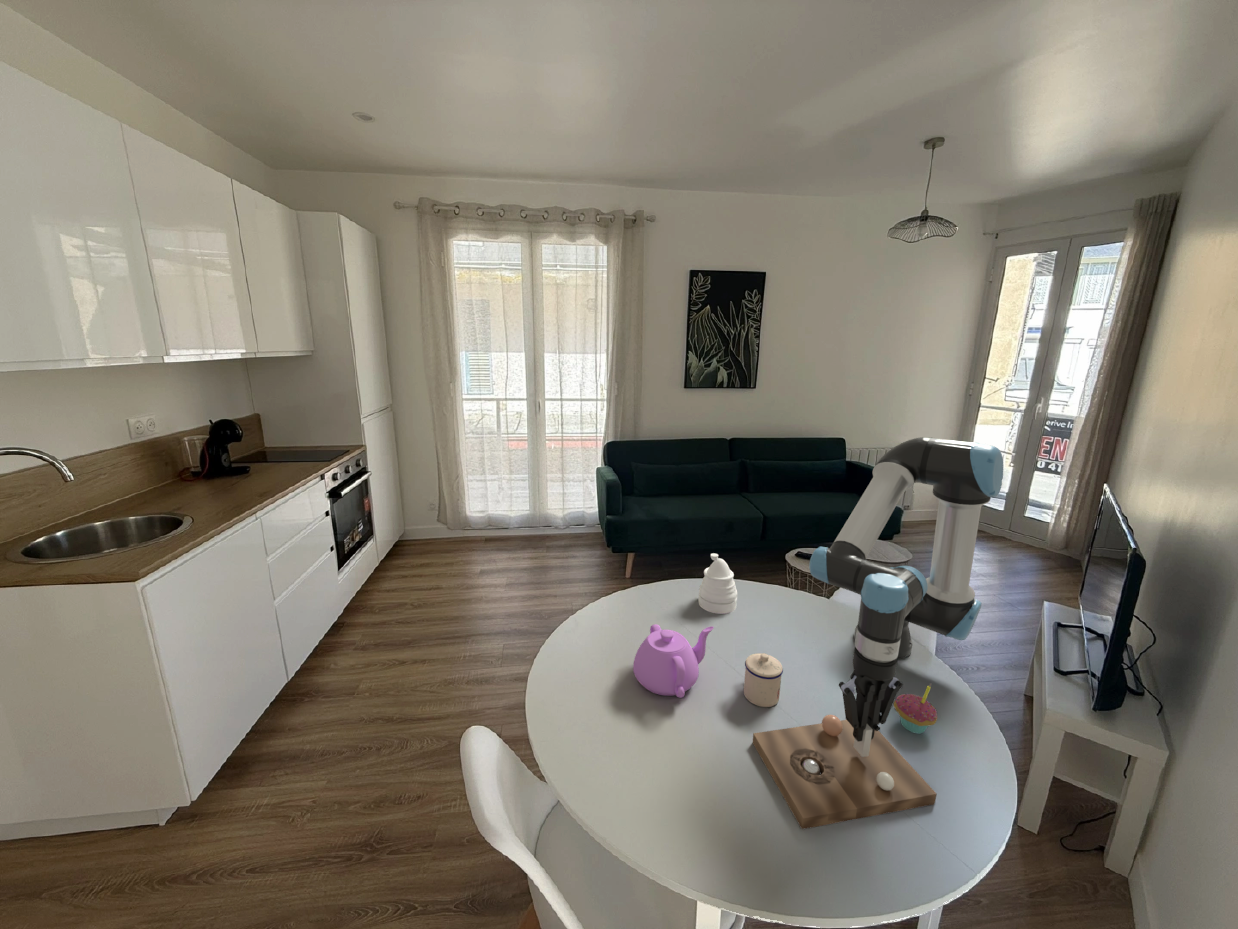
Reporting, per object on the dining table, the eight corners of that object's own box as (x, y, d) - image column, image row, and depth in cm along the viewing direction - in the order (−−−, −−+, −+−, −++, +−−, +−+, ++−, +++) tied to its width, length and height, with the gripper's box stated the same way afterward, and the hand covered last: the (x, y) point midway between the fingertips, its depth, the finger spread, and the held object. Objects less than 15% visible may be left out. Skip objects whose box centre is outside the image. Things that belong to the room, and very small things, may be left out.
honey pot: (698, 611, 159) (700, 562, 155) (698, 593, 171) (700, 546, 167) (737, 615, 157) (741, 565, 153) (735, 596, 169) (738, 549, 165)
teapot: (730, 697, 120) (734, 649, 117) (649, 715, 114) (650, 665, 110) (693, 646, 140) (695, 604, 137) (622, 659, 134) (622, 615, 131)
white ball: (885, 779, 94) (887, 767, 94) (896, 793, 91) (898, 780, 91) (871, 782, 94) (873, 769, 93) (882, 795, 91) (884, 782, 90)
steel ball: (804, 754, 98) (794, 766, 99) (814, 771, 95) (804, 783, 96) (816, 755, 99) (806, 766, 100) (826, 772, 96) (817, 783, 97)
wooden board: (864, 726, 111) (866, 717, 110) (934, 804, 92) (936, 794, 91) (752, 742, 106) (753, 733, 105) (801, 829, 87) (803, 818, 86)
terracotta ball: (833, 725, 108) (835, 709, 107) (845, 739, 104) (847, 723, 103) (816, 727, 107) (818, 711, 106) (828, 742, 103) (830, 725, 102)
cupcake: (928, 718, 114) (936, 674, 111) (939, 745, 106) (948, 698, 103) (888, 709, 116) (895, 666, 114) (895, 735, 109) (903, 689, 106)
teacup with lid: (786, 707, 117) (790, 666, 114) (749, 709, 116) (753, 668, 113) (767, 675, 128) (770, 636, 125) (734, 677, 127) (736, 638, 125)
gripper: (858, 668, 89) (844, 771, 94) (919, 660, 91) (901, 761, 97) (833, 644, 96) (821, 741, 102) (891, 637, 98) (876, 732, 104)
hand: (860, 751), depth 99 cm, fingers closed
